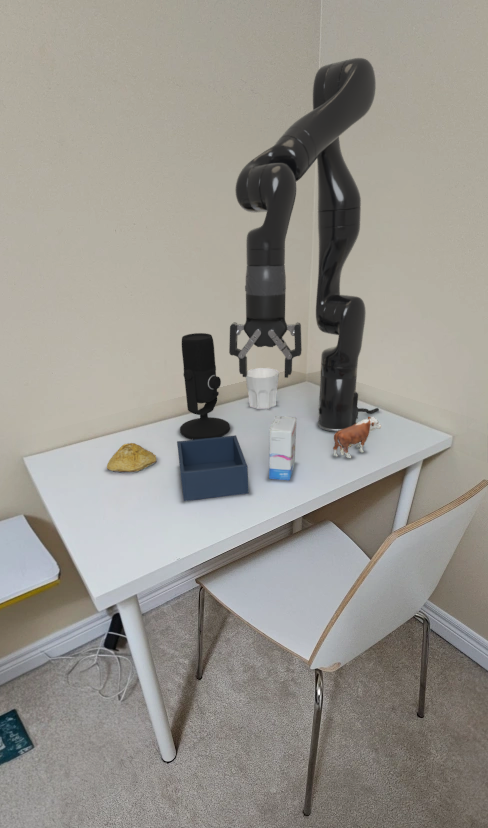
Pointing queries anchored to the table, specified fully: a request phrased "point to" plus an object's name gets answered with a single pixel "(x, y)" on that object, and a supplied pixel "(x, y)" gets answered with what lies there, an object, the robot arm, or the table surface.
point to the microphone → (201, 387)
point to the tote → (212, 468)
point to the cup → (262, 387)
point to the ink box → (282, 447)
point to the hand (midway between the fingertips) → (265, 376)
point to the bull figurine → (354, 435)
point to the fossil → (131, 459)
